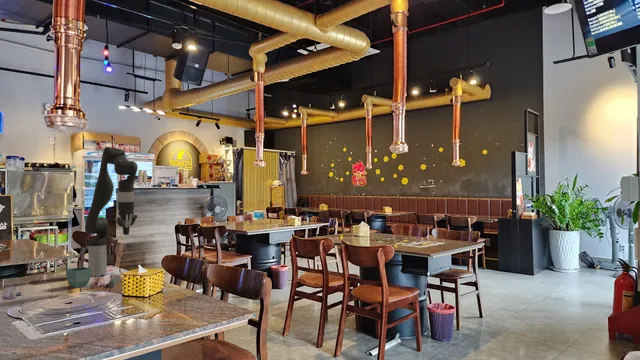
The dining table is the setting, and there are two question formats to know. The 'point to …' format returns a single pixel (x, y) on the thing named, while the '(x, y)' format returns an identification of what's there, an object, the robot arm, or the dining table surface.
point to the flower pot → (78, 276)
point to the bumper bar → (114, 281)
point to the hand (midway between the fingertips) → (126, 234)
